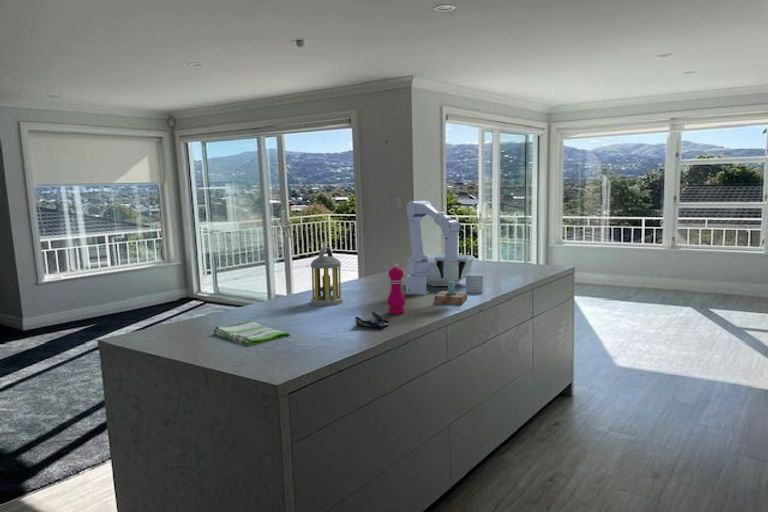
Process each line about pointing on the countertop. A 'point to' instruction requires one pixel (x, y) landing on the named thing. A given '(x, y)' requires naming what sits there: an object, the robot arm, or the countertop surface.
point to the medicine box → (474, 283)
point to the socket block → (450, 298)
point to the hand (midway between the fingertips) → (451, 278)
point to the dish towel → (248, 333)
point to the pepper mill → (396, 291)
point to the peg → (451, 288)
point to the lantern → (326, 279)
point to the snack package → (370, 323)
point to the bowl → (447, 270)
